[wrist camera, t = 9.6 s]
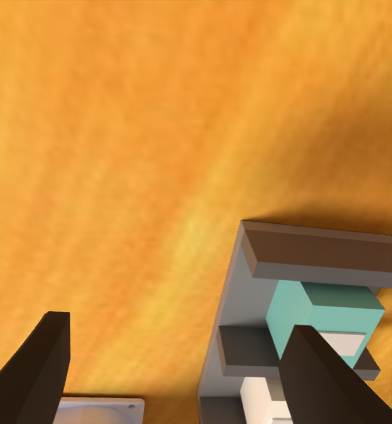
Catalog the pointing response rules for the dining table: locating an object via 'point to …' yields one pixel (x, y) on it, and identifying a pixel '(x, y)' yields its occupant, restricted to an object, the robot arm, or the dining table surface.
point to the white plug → (264, 401)
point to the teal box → (325, 315)
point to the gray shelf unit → (262, 297)
